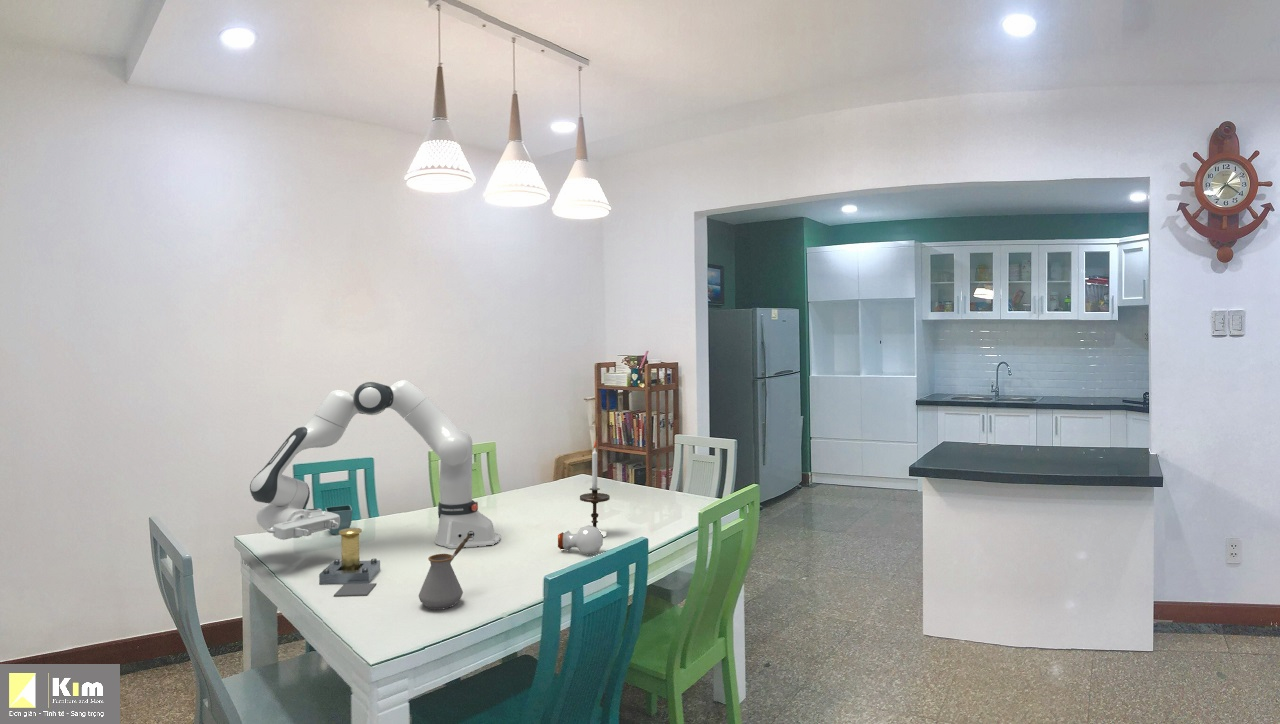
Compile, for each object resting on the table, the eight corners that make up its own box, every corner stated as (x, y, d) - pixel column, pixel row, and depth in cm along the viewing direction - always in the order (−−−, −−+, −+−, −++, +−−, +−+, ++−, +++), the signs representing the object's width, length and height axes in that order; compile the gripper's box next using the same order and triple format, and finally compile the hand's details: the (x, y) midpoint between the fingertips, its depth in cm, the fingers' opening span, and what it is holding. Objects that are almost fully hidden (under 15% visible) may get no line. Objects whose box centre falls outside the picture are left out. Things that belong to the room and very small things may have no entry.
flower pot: (326, 537, 257) (326, 512, 256) (325, 531, 264) (324, 507, 264) (352, 534, 261) (352, 509, 260) (350, 528, 269) (350, 504, 268)
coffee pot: (447, 614, 185) (447, 557, 184) (409, 609, 188) (409, 553, 187) (488, 587, 205) (488, 535, 205) (453, 583, 208) (453, 532, 208)
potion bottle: (603, 560, 235) (561, 561, 239) (609, 537, 243) (569, 538, 247) (595, 542, 230) (552, 543, 234) (601, 518, 237) (560, 520, 242)
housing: (380, 569, 220) (380, 557, 220) (368, 583, 208) (368, 570, 208) (333, 571, 219) (333, 558, 219) (319, 584, 207) (319, 571, 207)
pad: (376, 584, 207) (376, 583, 207) (367, 595, 198) (367, 594, 198) (344, 585, 206) (344, 584, 206) (333, 596, 197) (333, 595, 197)
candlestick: (600, 529, 267) (600, 437, 266) (615, 536, 258) (615, 440, 257) (574, 534, 261) (574, 439, 260) (588, 541, 252) (589, 442, 251)
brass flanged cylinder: (364, 573, 217) (364, 527, 217) (358, 580, 211) (358, 533, 210) (343, 573, 216) (342, 528, 216) (336, 580, 210) (335, 533, 210)
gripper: (264, 520, 217) (292, 526, 210) (323, 507, 235) (351, 513, 228) (263, 540, 217) (291, 547, 210) (323, 526, 235) (351, 532, 228)
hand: (323, 529), depth 219 cm, fingers open, 8 cm apart
